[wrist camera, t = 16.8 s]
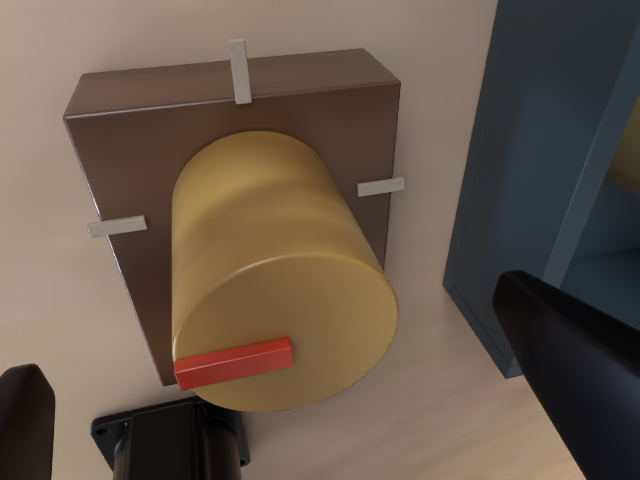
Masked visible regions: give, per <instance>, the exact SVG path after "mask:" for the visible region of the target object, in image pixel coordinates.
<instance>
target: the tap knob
mask: <svg viewBox="0 0 640 480" xmlns="http://www.w3.org/2000/svg"><path fill="white" fill-rule="evenodd" d="M398 314H399V308H398V301H397V297H396V295H395V292H394V289H393V288H392V286H391V284H390V282H389V280H388V278H387V276H386V275H385V273H384V271H383V269H382V267H381V265H380V264H379V262H378V260H377V258H376V256H375V254H374V252H373V251H372V249H371V247H370V245H369V243H368V241H367V240H366V238H365V236H364V234H363V232H362V230H361V228H360V227H359V225H358V223H357V221H356V219H355V217H354V216H353V214H352V212H351V210H350V208H349V206H348V205H347V203H346V201H345V199H344V197H343V195H342V193H341V192H340V190H339V188H338V186H337V184H336V182H335V181H334V179H333V177H332V175H331V173H330V171H329V169H328V168H327V166H326V164H325V163H324V161H323V160H322V159H321V158H320V156H319V155H318V154H317V153H316V152H315V151H314V150H313V149H311V148H310V147H309V146H307V145H306V144H304V143H303V142H301V141H299V140H297V139H295V138H293V137H290V136H287V135H284V134H281V133H275V132H270V131H248V132H242V133H237V134H233V135H230V136H227V137H224V138H221V139H219V140H217V141H215V142H213V143H211V144H210V145H208V146H207V147H205V148H203V149H202V150H201V151H200V152H198V153H197V154H196V155H195V156H194V157H193V158H192V159H191V160H190V161H189V162H188V163H187V164H186V166H185V167H184V169H183V170H182V172H181V173H180V175H179V177H178V179H177V182H176V184H175V187H174V191H173V196H172V357H173V361H174V374H175V376H176V379H177V382H178V385H179V388H180V390H181V391H184V390H188V389H191V390H192V391H193V392H194V393H195V394H196V395H198V396H199V397H201V398H202V399H204V400H206V401H208V402H210V403H212V404H215V405H218V406H221V407H223V408H228V409H232V410H237V411H245V412H275V411H283V410H289V409H294V408H299V407H302V406H306V405H310V404H313V403H315V402H318V401H321V400H324V399H326V398H328V397H330V396H333V395H335V394H337V393H339V392H340V391H342V390H344V389H346V388H347V387H349V386H351V385H352V384H354V383H355V382H357V381H358V380H359V379H361V378H362V377H363V376H364V375H366V374H367V373H368V372H369V371H370V370H371V369H372V368H373V367H374V366H375V365H376V364H377V363H378V362H379V361H380V359H381V358H382V357H383V356H384V354H385V353H386V351H387V350H388V348H389V346H390V344H391V343H392V341H393V338H394V336H395V333H396V330H397V325H398Z"/></svg>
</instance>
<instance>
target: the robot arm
mask: <svg viewBox="0 0 640 480" xmlns="http://www.w3.org/2000/svg"><path fill="white" fill-rule="evenodd" d="M492 309H493V312H494V314H495V316H496V318H497V320H498V322H499V325H500V327H501V329H502V331H503V333H504V335H505V337H506V340H507V342H508V344H509V346H510V348H511V350H512V352H513V355H514V357H515V359H516V361H517V363H518V365H519V367H520V369H521V371H522V373H523V375H524V376H525V378H526V380H527V382H528V383H529V385H530V387H531V388H532V390H533V392H534V393H535V395H536V397H537V398H538V400H539V402H540V403H541V405H542V407H543V408H544V410H545V412H546V413H547V415H548V417H549V418H550V420H551V422H552V423H553V425H554V427H555V428H556V430H557V432H558V433H559V435H560V437H561V438H562V440H563V442H564V443H565V445H566V447H567V448H568V450H569V451H570V453H571V455H572V456H573V458H574V460H575V461H576V463H577V465H578V466H579V468H580V470H581V471H582V473H583V475H584V476H585V478H586V480H640V330H638V329H636V328H634V327H632V326H630V325H628V324H626V323H624V322H622V321H620V320H619V319H617V318H615V317H613V316H611V315H609V314H607V313H605V312H603V311H601V310H599V309H597V308H595V307H593V306H591V305H589V304H587V303H585V302H583V301H581V300H580V299H578V298H576V297H574V296H572V295H570V294H568V293H566V292H564V291H562V290H560V289H558V288H556V287H554V286H552V285H550V284H548V283H546V282H544V281H542V280H540V279H539V278H537V277H535V276H533V275H531V274H529V273H527V272H525V271H523V270H519V269H516V270H511V271H506V272H502V273H501V274H500V275H499V277H498V280H497V283H496V286H495V290H494V293H493V296H492ZM54 421H55V394H54V391H53V389H52V387H51V386H50V384H49V382H48V381H47V379H46V378H45V376H44V374H43V373H42V371H41V370H40V368H39V367H38V366H37V365H36V364H26V365H21V366H16V367H12V368H9V369H8V370H6V371H5V372H4V373H3V374H2V376H1V377H0V480H51V475H52V458H53V440H54ZM90 434H91V436H92V438H93V439H94V441H95V443H96V444H97V446H98V448H99V449H100V451H101V453H102V454H103V456H104V458H105V460H106V461H107V463H108V465H109V466H110V468H111V470H112V471H113V480H242V476H241V468H240V467H244V466H246V465H248V464H249V463H250V453H249V449H248V444H247V439H246V435H245V430H244V425H243V420H242V416H241V411H237V410H232V409H228V408H223V407H221V406H218V405H215V404H212V403H210V402H208V401H206V400H204V399H202V398H201V397H199V396H196V397H191V398H187V399H182V400H178V401H173V402H168V403H164V404H159V405H155V406H150V407H146V408H141V409H137V410H132V411H127V412H123V413H118V414H114V415H109V416H105V417H100V418H97V419H95V420H94V421H93V422H92V423H91V429H90Z"/></svg>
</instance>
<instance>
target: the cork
mask: <svg viewBox="0 0 640 480" xmlns="http://www.w3.org/2000/svg"><path fill="white" fill-rule="evenodd" d="M605 178H607V179H608V180H610V181H611V182H613V183H614V184H616V185H619V186H621V187H623V188H625V189H627V190H629V191H631V192H633V193H635V194H637V195H640V93H639V96H638V98H637V100H636V103H635V105H634V108H633V110H632V113H631V115H630V117H629V120H628V122H627V125H626V127H625V130H624V132H623V135H622V137H621V139H620V142H619V144H618V147H617V149H616V152H615V154H614V156H613V159H612V161H611V164H610V166H609V169H608V171H607V173H606V176H605Z"/></svg>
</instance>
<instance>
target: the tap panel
mask: <svg viewBox="0 0 640 480" xmlns="http://www.w3.org/2000/svg"><path fill="white" fill-rule="evenodd" d="M228 46H229V54H230V61H220V62H209V63H198V64H187V65H177V66H166V67H155V68H144V69H133V70H122V71H111V72H100V73H89V74H83V75H82V76H81V78H80V80H79V83H78V85H77V87H76V89H75V91H74V93H73V96H72V98H71V100H70V102H69V104H68V107H67V109H66V111H65V113H64V115H63V121H64V123H65V126H66V129H67V131H68V134H69V137H70V139H71V142H72V145H73V148H74V150H75V153H76V156H77V158H78V161H79V164H80V166H81V169H82V172H83V174H84V177H85V180H86V182H87V185H88V188H89V190H90V193H91V196H92V198H93V201H94V204H95V206H96V209H97V212H98V215H99V217H100V220H101V222H94V223H88V224H87V228H88V231H89V233H90V236H91V238H92V237H99V236H105V235H106V236H107V239H108V241H109V244H110V247H111V249H112V252H113V255H114V257H115V260H116V263H117V265H118V268H119V271H120V273H121V276H122V279H123V281H124V284H125V287H126V290H127V292H128V295H129V298H130V300H131V303H132V306H133V308H134V311H135V314H136V316H137V319H138V322H139V324H140V327H141V330H142V332H143V335H144V338H145V340H146V343H147V346H148V348H149V351H150V354H151V357H152V359H153V362H154V365H155V367H156V370H157V373H158V375H159V378H160V381H161V383H162V385H163V386H168V385H173V384H178V382H177V379H176V376H175V374H174V361H173V357H172V196H173V191H174V187H175V184H176V182H177V179H178V177H179V175H180V173H181V172H182V170H183V169H184V167H185V166H186V164H187V163H188V162H189V161H190V160H191V159H192V158H193V157H194V156H195V155H196V154H197V153H198V152H200V151H201V150H202V149H203V148H205V147H207V146H208V145H210V144H211V143H213V142H215V141H217V140H219V139H221V138H224V137H227V136H230V135H233V134H237V133H242V132H248V131H270V132H275V133H281V134H284V135H287V136H290V137H293V138H295V139H297V140H299V141H301V142H303V143H304V144H306V145H307V146H309V147H310V148H311V149H313V150H314V151H315V152H316V153H317V154H318V155H319V156H320V158H321V159H322V160H323V161H324V163H325V164H326V166H327V168H328V169H329V171H330V173H331V175H332V177H333V179H334V181H335V182H336V184H337V186H338V188H339V190H340V192H341V193H342V195H343V197H344V199H345V201H346V203H347V205H348V206H349V208H350V210H351V212H352V214H353V216H354V217H355V219H356V221H357V223H358V225H359V227H360V228H361V230H362V232H363V234H364V236H365V238H366V240H367V241H368V243H369V245H370V247H371V249H372V251H373V252H374V254H375V256H376V258H377V260H378V262H379V264H380V265H381V267H382V269H383V271H384V263H385V252H386V241H387V230H388V219H389V207H390V196H391V192H394V191H401V190H404V184H405V179H404V178H403V177H400V178H393V179H392V174H393V163H394V152H395V141H396V130H397V119H398V108H399V97H400V86H401V82H400V80H399V79H398V78H397V77H396V76H394V75H393V74H392V73H391V72H390V71H389V70H388V69H386V68H385V67H384V66H383V65H382V64H381V63H380V62H379V61H377V60H376V59H375V58H374V57H373V56H372V55H371V54H369V53H368V52H367V51H366V50H365V49H363V48H362V49H351V50H340V51H329V52H318V53H308V54H297V55H286V56H275V57H264V58H253V59H247V54H246V45H245V40H244V39H233V40H228Z"/></svg>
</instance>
